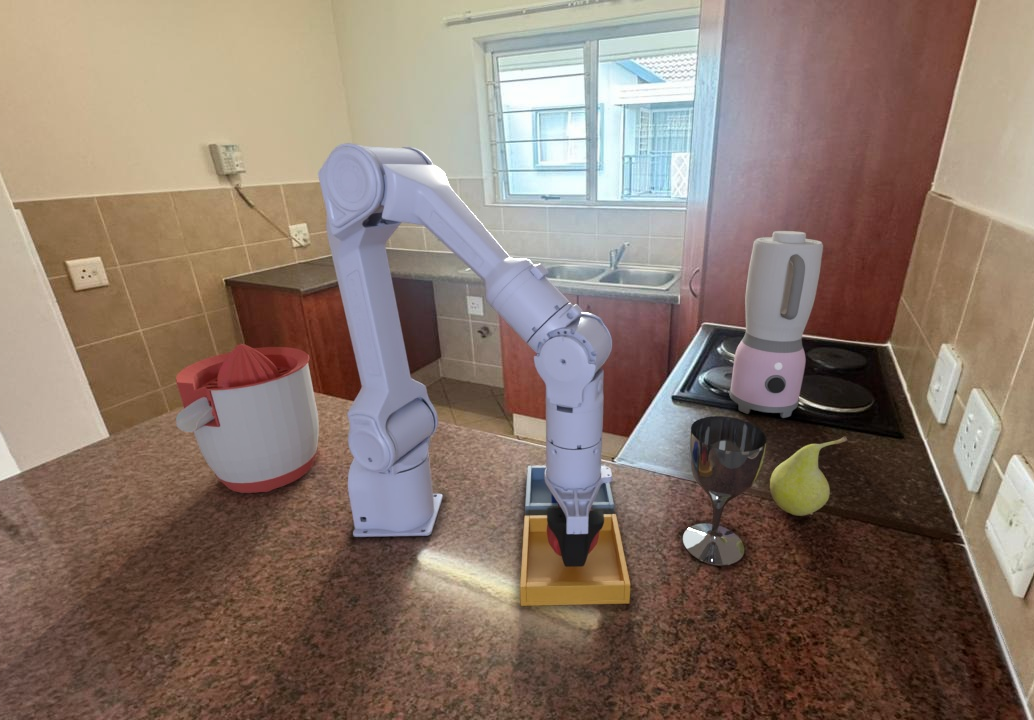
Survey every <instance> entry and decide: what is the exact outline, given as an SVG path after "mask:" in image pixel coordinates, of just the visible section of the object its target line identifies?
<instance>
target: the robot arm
mask: <svg viewBox="0 0 1034 720" xmlns="http://www.w3.org/2000/svg"><path fill="white" fill-rule="evenodd" d="M317 176H318V180H319V185H320V190H321V193H322V198H323V203H324V208H325V212H326V223H325V224H326V225H325V227H326V229H325V230H326V235H327V241H328V244H329V249H330V254H331V257H332V263H333V266H334V271H335V275H336V281H337V284H338V288H339V293H340V296H341V297H340V298H341V302H342V307H343V311H344V314H345V319H346V324H347V327H348V332H349V336H350V341H351V346H352V350H353V354H354V358H355V362H356V368H357V371H358V372H357V373H358V375H359V380H360V385H361V388H360V390H359V392H358V394H357V395H356V396H355V398H354V400H353V402H352V404H351V405H350V407H349V409H348V411H347V413H346V415H347V419H348V422H349V423H348V425H349V430H348V435H347V444H348V448H349V452H350V454H351V456H352V457H353V459H352V461H351V464H350V466H349V469H348V475H347V491H348V499H349V503H350V510H351V515H352V519H353V520H352V521H353V526H354V529H353V530H352V536H353V537H354V538H367V537H369V538H371V537H372V538H373V537H375V538H377V537H421V536H422V537H424V536H425V537H427V536H431V534H432V533H433V530H434V527H435V523H436V520H437V518H438V514H439V511H440V508H441V504H442V501H443V499H444V496H443V494H442V493H434V489H433V478H432V470H431V469H432V468H431V460H430V451H429V449H430V447H431V446H432V441H431V437H432V436H433V435H434V434H435V433H436V432H437V430H438V427H439V415H438V413H437V410H436V408H435V406H434V405H433V403H432V402H431V400H430V397H429V394H428V390H427V386H426V385H425V384H423V383H421V382H419V381H417V380H415V379H413V378H412V376H411V372H410V367H409V362H408V357H407V351H406V346H405V341H404V335H403V331H402V325H401V321H400V315H399V310H398V304H397V300H396V293H395V290H394V284H393V279H392V274H391V273H392V272H391V268H390V264H389V258H388V253H387V248H386V244H387V242H388V241H389V240H390V238H391V237H392V235H394V233H395V232H396V231H397V229H398V228H399V227H400V225H401V224H402V223H404V224H412V225H417V226H418V225H419V226H422V227H425V228H426V229H427V230H428V231H429V232H430V233H431V234H432V235H433V236H434V237H436V238H437V239H438V241H440V242H441V243H442V244H443V245H444V246H445V247H446V248H447V249H448V250H450V252H452V253H453V254H454V255H455V256H456V257H457V258H458V259H459V260H460V261H461V262H463V263H464V264H465V265H466V266H467V267H468V269H470V270H471V271H472V272H473V273H474V274H475V275H476V276H477V277H478V278H480V279H481V280H482V281H483V283H484V298H485V301H486V302H487V304H488V305H489V306H490V307H491V308H492V309H493V310H494V311H495V312H496V313H497V314H498V315H499V316H500V317H501V318H502V320H504V321H505V322H506V324H507V325H508V326H509V327H510V328H511V329H512V330H513V331H514V332H515V333H516V334H517V335H518V336H519V338H521V339H522V340H523V341H524V342H525V343H526V344H527V346H528V347H529V348H530V349H531V350H532V351H533V352H535V353H536V355H534V356H533V361H534V362H533V363H534V367H535V369H536V371H537V374H538V375H539V377H540V378H541V379H542V381H543V382H544V385H545V466H546V469H545V473H544V479H545V483H546V485H547V486H548V488H549V489H550V491H551V493H552V494H553V496H554V497H555V499H556V501H557V502H558V506H559V505H560V507H555V508H547V523H548V526H549V528H550V530H551V531H552V532H553V533H554V535H555V536H556V538H557V540H558V543H559V547H560V551H561V556H562V560H563V563H564V565H565V566H566V567H581V566H584V564H585V562H586V559H587V556H588V553H589V549H590V546H591V543H592V541H593V539H594V537H595V536H596V534H597V533H598V532H599V531H600V530H601V529H602V527H603V524H604V514H603V510H594V511H590V509H591V507H592V504H593V502H594V500H595V498H596V495H597V493H598V491H599V488H600V486H601V484H603V483H609V482H610V483H611V482H613V473H612V468H610V467H609V466H606V467H601V465H602V454H603V453H602V452H603V451H602V449H603V428H604V427H603V425H604V401H605V400H604V399H605V398H604V397H605V396H604V376H605V375H604V371H605V370H604V369H603V368H602V367H603V365H604V364H605V363H606V362H607V361H608V359H609V357H610V355H611V353H612V350H613V349H612V348H613V340H612V336H611V332H610V330H609V329H608V327H607V326H606V325H605V323H604V321H603V319H602V318H601V317H600V316H598V315H596V314H593V313H591V312H586V311H585V312H584V310H583V309H582V308H581V307H580V306H579V304H578V303H575V304H573V303H571V302H570V301H569V299H568V298H567V297H566V296H565V295H564V294H563V293H562V292H561V291H560V290H559V289H558V288H557V287H556V286H555V285H554V283H552V281H551V280H550V279H548V278H547V276H548V275H549V274H550V271H549V270H548V269H547V268H546V267H545V266H544V265H543V264H542V263H537V264H534V263H533V262H532V261H531V259H529V258H514V257H511V256H510V255H509V254H508V253H507V251H505V249H504V247H502V246H501V245H500V243H499V242H498V241H497V240H496V239H495V238H494V236H493V235H492V234H491V232H489V230H488V229H487V227H485V225H484V224H483V223H482V222H481V221H480V220H479V219H478V218H477V216H476V215H475V214H474V213H473V212H472V211H471V209H470V208H469V207H468V206H467V205H466V203H465V202H464V201H463V200H462V199H461V198H460V196H459V195H458V194H457V193H456V191H454V189H453V188H452V187H451V185H450V183H449V180H448V177H447V176H446V173H445V171H444V170H443V169H441V168H440V167H439V166H438V165H436V164H434V163H433V162H432V160H431V159H430V157H429V156H428V155H427V154H426V153H425V152H424V151H422V150H421V149H418V148H417V147H414V146H413V147H412V146H402V147H391V146H373V145H360V144H358V143H353V142H352V143H351V142H344V143H340V144H339V145H337V146H335V147H334V148H333V149H332V151H331V152H330V153H329V155H328V156H327V158H326V159H325V161H324V163H323V164H322V166H321V167H320V169H319V170H318V172H317Z"/></svg>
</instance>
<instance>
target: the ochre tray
mask: <svg viewBox="0 0 1034 720" xmlns="http://www.w3.org/2000/svg"><path fill="white" fill-rule="evenodd" d="M523 517H524V518H523V533H522V547H521V548H522V550H521V563H520V565H521V567H520V579H519V580H520V582H519V595H520V606H521V607H527V606H528V607H529V606H533V607H534V606H571V605H573V606H577V605H622V604H624V605H625V604H626V605H627V604H628V605H629V604H630V603H631V602H630V601H631V579H630V576H629V570H628V566H627V561H626V560H627V559H626V556H625V551H624V546H623V541H622V536H621V531H620V526H619V521H618V517H617V514H616V513H614V514H612V515H611V514H604V524H603V527H602V529H601V530H600V531H599V538H598V542H597V545H596V546H595V547H594V548H593V550H592V551H591V552H590V553H589V554H588V556H587V559H586V562H585V564H584V566H581V567H566V566H565V565H564V563H563V560H562V557H561V556H559V555H558V554H556V553H555V551H554V550H553V549H552V547H551V546H550V544H549V542H548V537H547V524H548V523H547V515H539V516H525V515H524V516H523Z"/></svg>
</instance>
